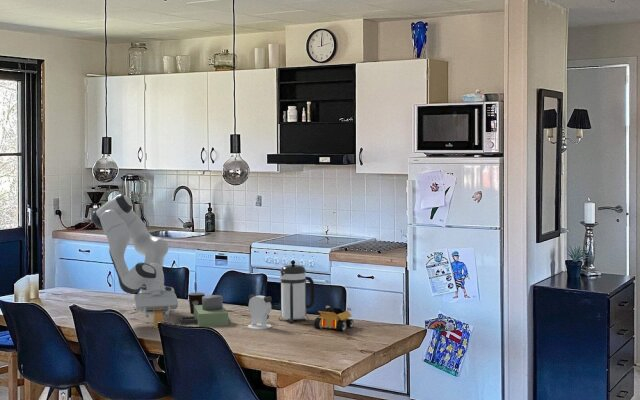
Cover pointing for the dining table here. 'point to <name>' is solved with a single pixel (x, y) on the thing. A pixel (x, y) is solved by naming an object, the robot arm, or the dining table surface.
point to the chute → (158, 317)
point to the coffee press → (295, 292)
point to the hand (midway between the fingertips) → (157, 316)
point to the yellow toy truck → (334, 319)
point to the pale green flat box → (208, 312)
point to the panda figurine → (259, 311)
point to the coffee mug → (195, 300)
